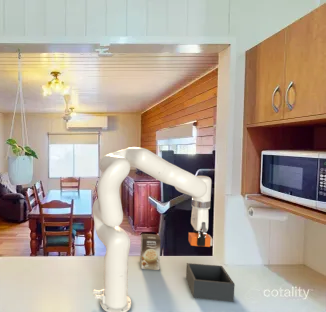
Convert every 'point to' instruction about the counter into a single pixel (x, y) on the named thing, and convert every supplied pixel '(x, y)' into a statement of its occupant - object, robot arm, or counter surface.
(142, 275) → the counter surface
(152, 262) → the coffee box
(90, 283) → the counter surface
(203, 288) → the trash bin
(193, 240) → the block
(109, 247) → the robot arm
